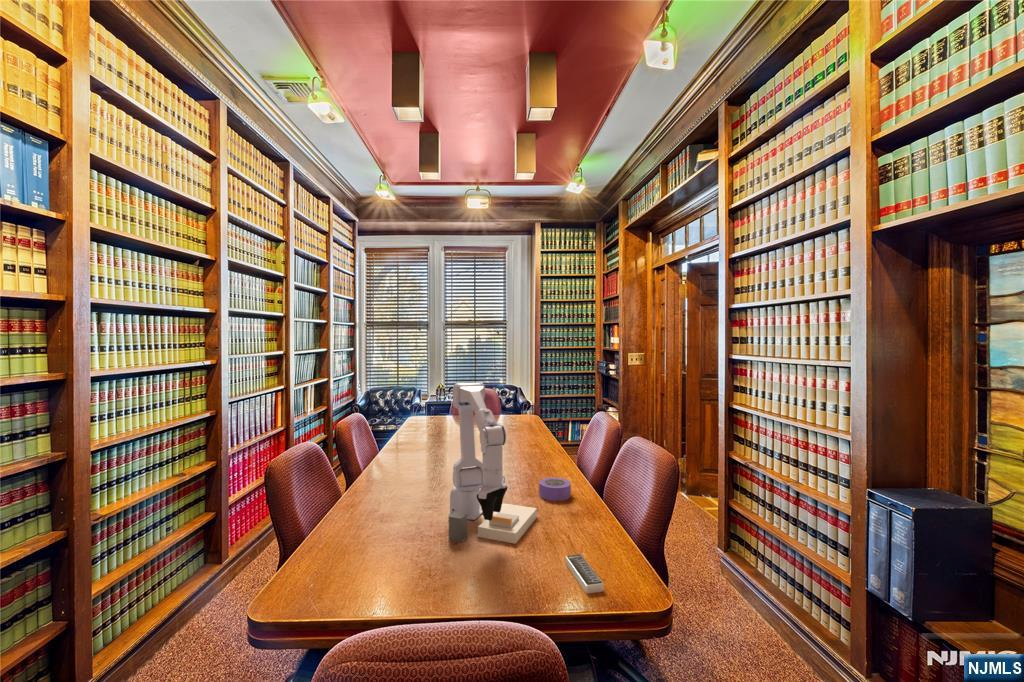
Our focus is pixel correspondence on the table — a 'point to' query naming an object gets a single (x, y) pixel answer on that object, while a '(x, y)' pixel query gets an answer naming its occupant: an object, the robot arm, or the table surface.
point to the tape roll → (554, 489)
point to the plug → (458, 527)
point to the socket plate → (513, 533)
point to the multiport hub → (584, 574)
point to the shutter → (504, 520)
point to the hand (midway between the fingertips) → (492, 515)
